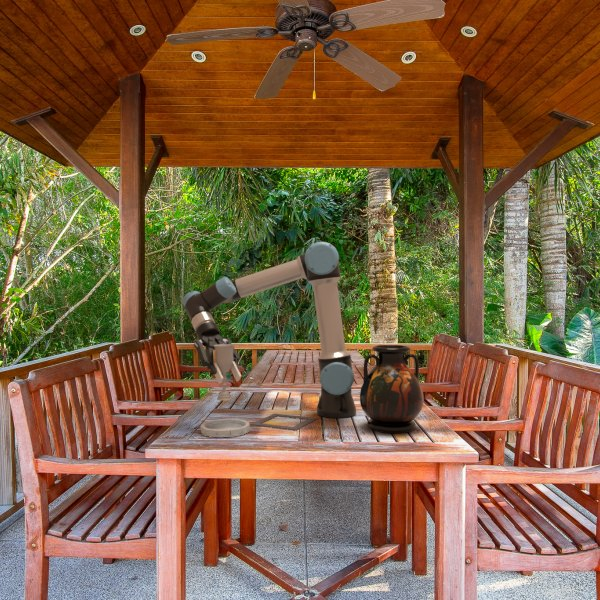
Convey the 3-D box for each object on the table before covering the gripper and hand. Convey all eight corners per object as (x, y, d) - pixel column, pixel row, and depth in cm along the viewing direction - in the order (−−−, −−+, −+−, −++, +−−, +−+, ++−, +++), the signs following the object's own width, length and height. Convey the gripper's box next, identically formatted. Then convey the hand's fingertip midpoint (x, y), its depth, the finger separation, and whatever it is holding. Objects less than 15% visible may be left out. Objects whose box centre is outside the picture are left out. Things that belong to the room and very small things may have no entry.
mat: (317, 419, 189) (317, 418, 189) (296, 430, 173) (295, 429, 173) (274, 414, 197) (274, 413, 197) (250, 425, 181) (250, 423, 181)
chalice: (225, 401, 167) (224, 346, 167) (209, 399, 171) (209, 345, 171) (239, 398, 173) (239, 344, 173) (223, 396, 177) (223, 343, 177)
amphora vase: (366, 437, 165) (366, 350, 164) (354, 421, 186) (354, 343, 186) (432, 435, 166) (432, 349, 166) (413, 419, 188) (413, 343, 187)
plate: (258, 428, 176) (258, 421, 176) (232, 440, 161) (232, 432, 161) (219, 423, 183) (219, 417, 183) (191, 434, 168) (191, 427, 168)
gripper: (225, 333, 190) (249, 383, 177) (177, 336, 178) (200, 390, 165) (232, 319, 186) (258, 370, 173) (184, 321, 174) (208, 375, 161)
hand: (230, 379), depth 169 cm, fingers closed on chalice, 6 cm apart
